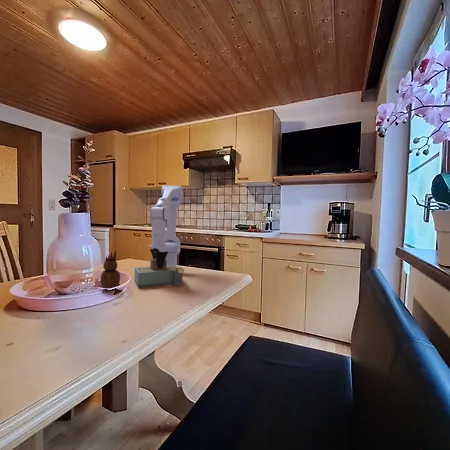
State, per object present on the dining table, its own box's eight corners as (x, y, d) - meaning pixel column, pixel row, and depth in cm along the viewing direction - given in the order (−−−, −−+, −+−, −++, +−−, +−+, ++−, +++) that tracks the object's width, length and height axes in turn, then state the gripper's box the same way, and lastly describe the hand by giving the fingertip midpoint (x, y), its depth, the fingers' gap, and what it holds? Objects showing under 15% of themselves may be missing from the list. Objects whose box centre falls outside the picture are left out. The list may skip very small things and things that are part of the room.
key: (175, 270, 107) (175, 266, 107) (180, 269, 108) (180, 266, 108) (179, 273, 102) (179, 269, 102) (184, 272, 103) (184, 269, 103)
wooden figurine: (122, 287, 102) (122, 250, 102) (114, 292, 97) (115, 252, 96) (106, 286, 103) (106, 249, 102) (97, 291, 97) (97, 251, 97)
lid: (138, 270, 111) (138, 258, 111) (173, 267, 118) (173, 256, 118) (141, 274, 104) (141, 262, 104) (178, 271, 111) (178, 259, 111)
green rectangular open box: (134, 281, 112) (134, 267, 112) (175, 277, 120) (175, 264, 120) (139, 290, 100) (139, 274, 99) (184, 285, 108) (184, 270, 107)
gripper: (146, 233, 115) (146, 263, 116) (152, 236, 102) (152, 270, 103) (162, 233, 118) (161, 262, 119) (170, 236, 105) (169, 269, 106)
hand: (158, 266), depth 111 cm, fingers open, 7 cm apart
